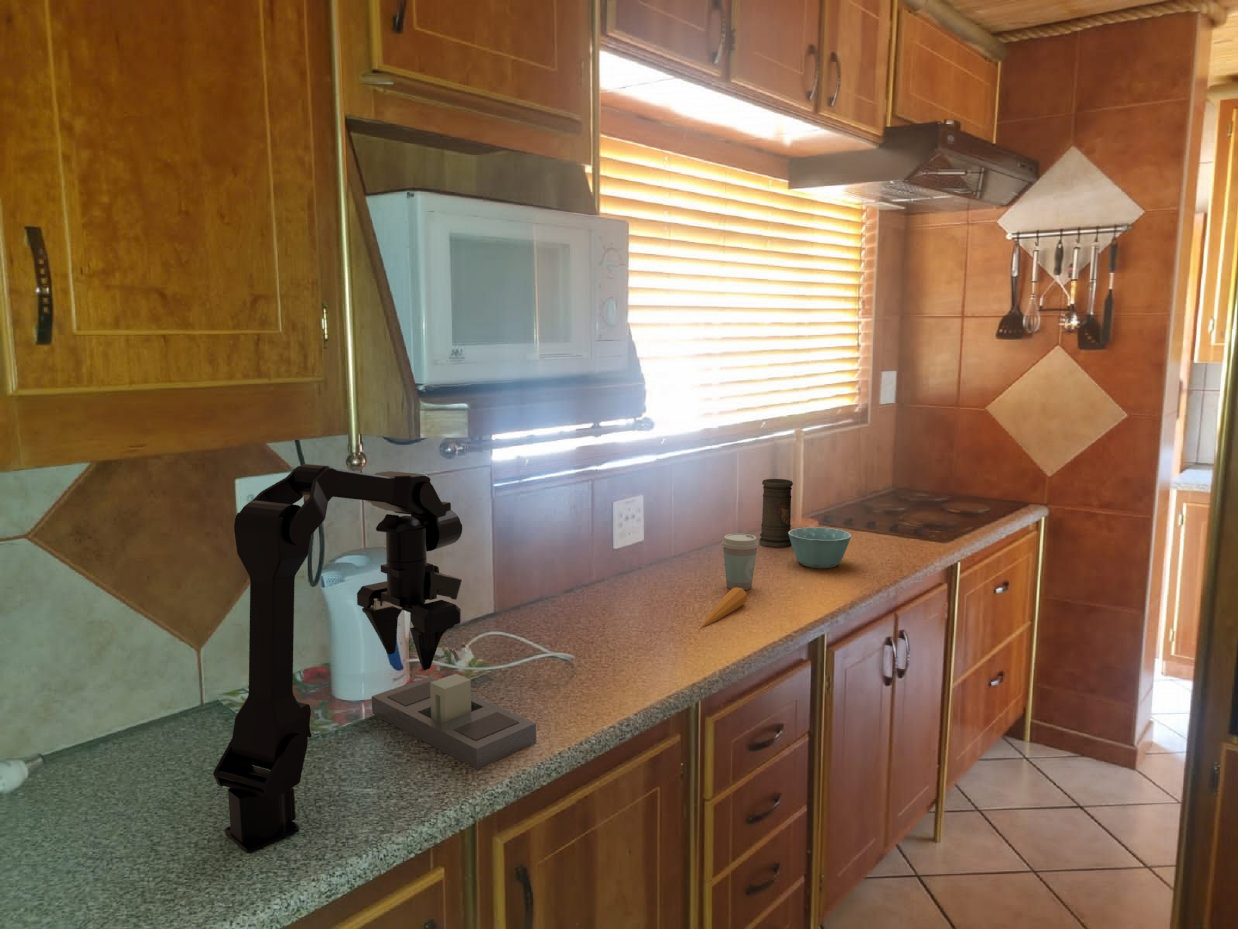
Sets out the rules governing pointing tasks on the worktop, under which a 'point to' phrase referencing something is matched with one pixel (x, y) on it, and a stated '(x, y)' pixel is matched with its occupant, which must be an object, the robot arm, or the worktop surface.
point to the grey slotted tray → (455, 725)
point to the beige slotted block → (450, 698)
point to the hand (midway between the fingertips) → (408, 661)
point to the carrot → (727, 605)
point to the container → (776, 513)
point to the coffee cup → (739, 559)
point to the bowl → (819, 546)
